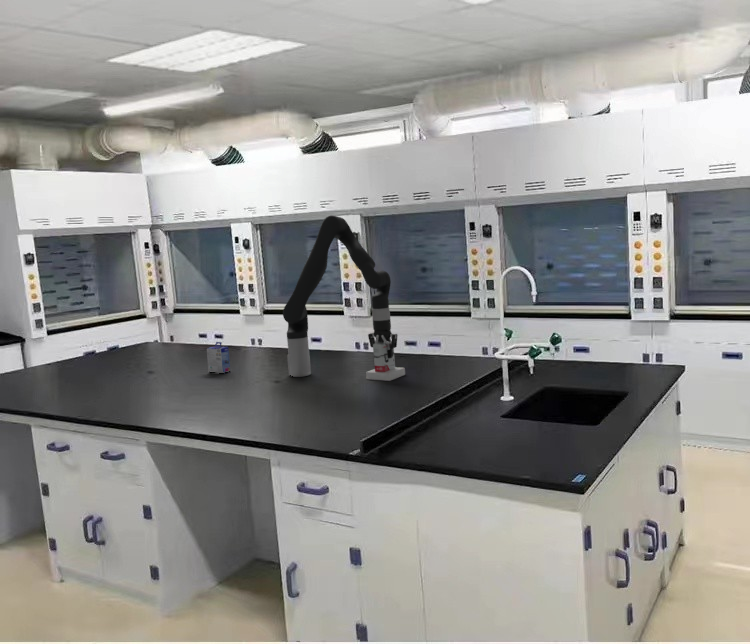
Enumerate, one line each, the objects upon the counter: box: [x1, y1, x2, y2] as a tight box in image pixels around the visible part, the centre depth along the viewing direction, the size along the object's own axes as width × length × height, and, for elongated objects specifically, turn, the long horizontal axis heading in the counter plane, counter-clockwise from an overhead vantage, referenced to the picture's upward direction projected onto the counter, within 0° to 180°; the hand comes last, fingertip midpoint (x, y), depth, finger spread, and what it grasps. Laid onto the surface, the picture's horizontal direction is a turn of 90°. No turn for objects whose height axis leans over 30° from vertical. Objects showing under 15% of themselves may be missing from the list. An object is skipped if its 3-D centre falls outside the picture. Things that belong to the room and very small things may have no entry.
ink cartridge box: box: [206, 341, 231, 372], centre depth 350 cm, size 10×6×14 cm, turn 58°
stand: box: [365, 366, 406, 382], centre depth 313 cm, size 12×12×3 cm
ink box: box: [372, 342, 396, 372], centre depth 312 cm, size 9×5×12 cm, turn 141°
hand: (384, 357), depth 313 cm, fingers open, 5 cm apart
